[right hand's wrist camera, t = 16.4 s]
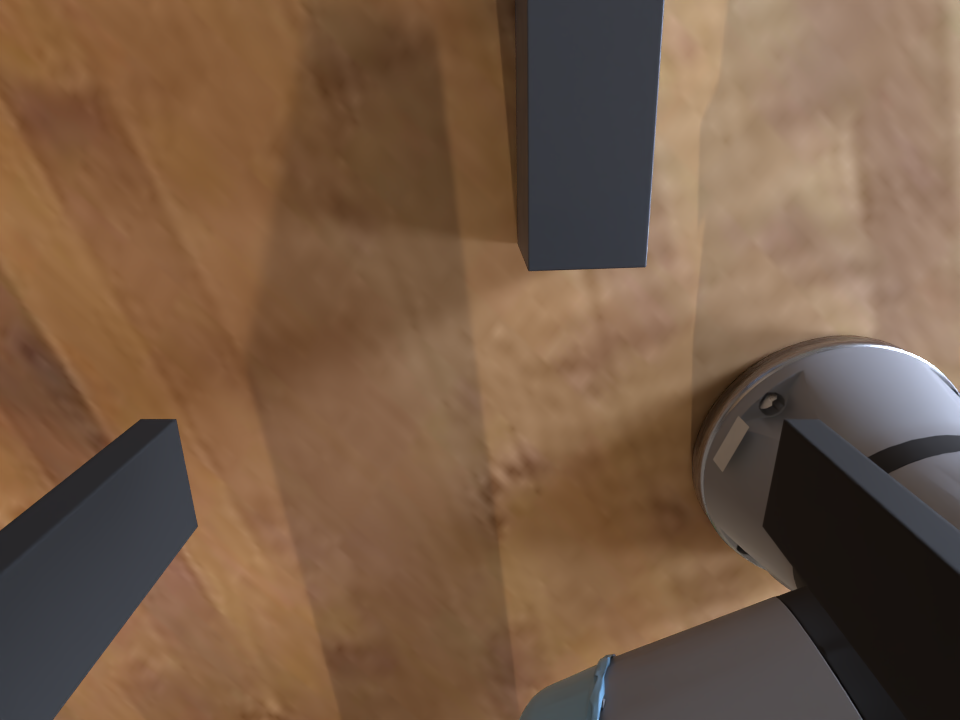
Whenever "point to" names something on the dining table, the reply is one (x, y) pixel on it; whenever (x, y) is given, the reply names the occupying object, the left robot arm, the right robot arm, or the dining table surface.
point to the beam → (586, 130)
